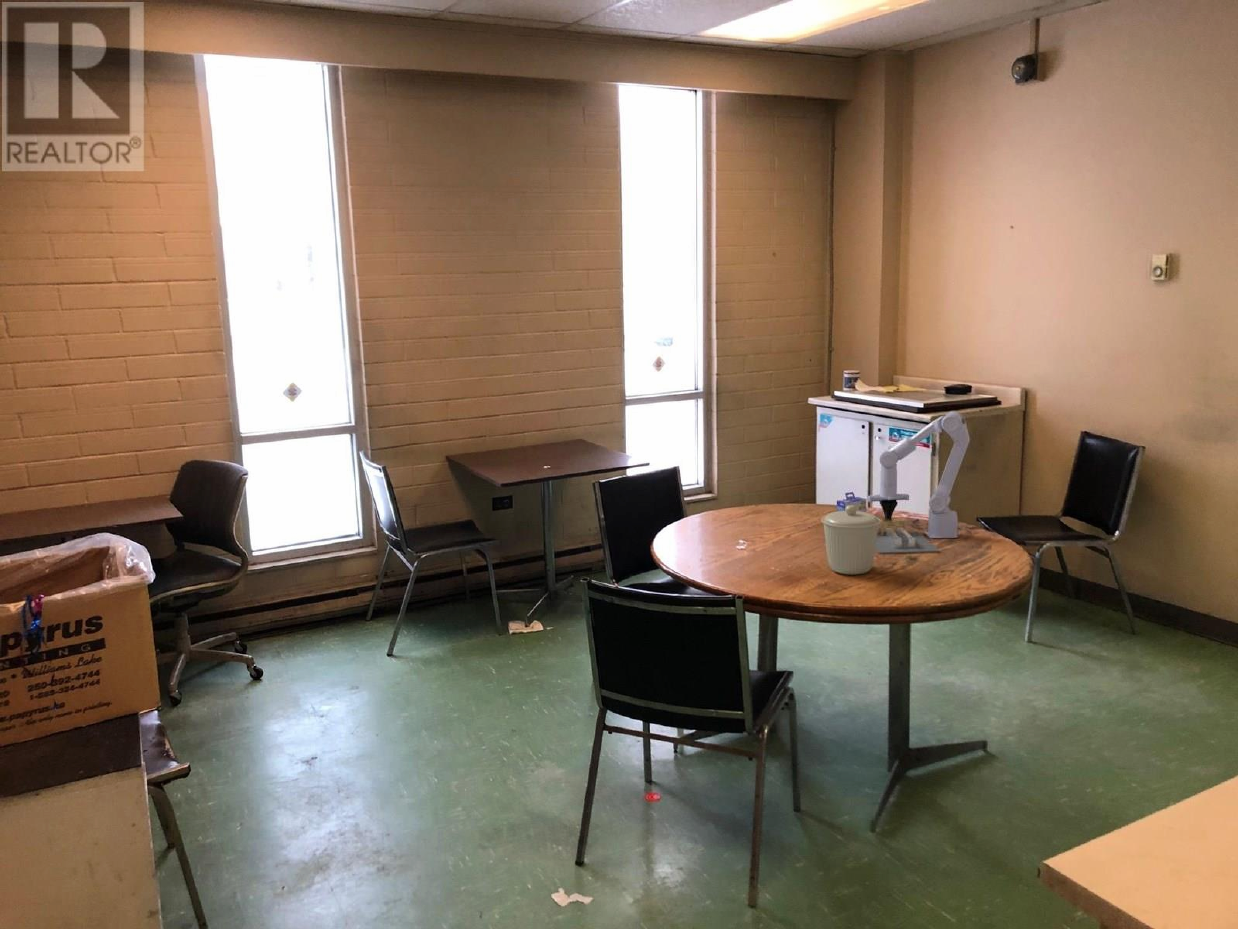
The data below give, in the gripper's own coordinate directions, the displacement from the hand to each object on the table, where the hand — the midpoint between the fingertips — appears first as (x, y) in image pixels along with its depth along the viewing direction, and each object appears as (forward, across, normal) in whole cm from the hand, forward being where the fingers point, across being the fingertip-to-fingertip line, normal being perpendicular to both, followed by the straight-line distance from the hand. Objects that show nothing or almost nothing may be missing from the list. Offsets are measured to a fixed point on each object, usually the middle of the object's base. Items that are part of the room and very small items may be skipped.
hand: (888, 520), depth 351 cm
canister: (+4, -28, -42) cm, 51 cm away
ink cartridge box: (+4, -13, +2) cm, 14 cm away
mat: (+4, -2, -15) cm, 16 cm away
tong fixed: (+4, 0, -16) cm, 16 cm away
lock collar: (+4, -1, -6) cm, 7 cm away
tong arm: (+4, -4, -15) cm, 16 cm away
